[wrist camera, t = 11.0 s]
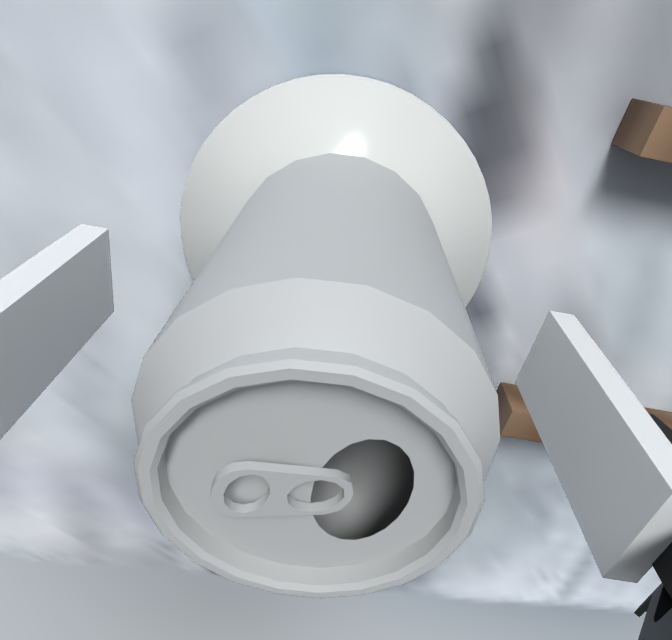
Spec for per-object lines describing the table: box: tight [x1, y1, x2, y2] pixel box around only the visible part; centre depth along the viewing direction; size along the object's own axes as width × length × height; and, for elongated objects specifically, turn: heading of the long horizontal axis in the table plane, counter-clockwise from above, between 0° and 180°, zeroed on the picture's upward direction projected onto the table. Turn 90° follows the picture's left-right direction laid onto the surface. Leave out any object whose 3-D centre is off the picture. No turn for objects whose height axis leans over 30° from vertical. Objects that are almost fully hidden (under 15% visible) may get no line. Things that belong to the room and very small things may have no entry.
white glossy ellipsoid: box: [180, 73, 492, 308], centre depth 19 cm, size 12×12×1 cm
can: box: [131, 153, 500, 598], centre depth 14 cm, size 8×8×12 cm
